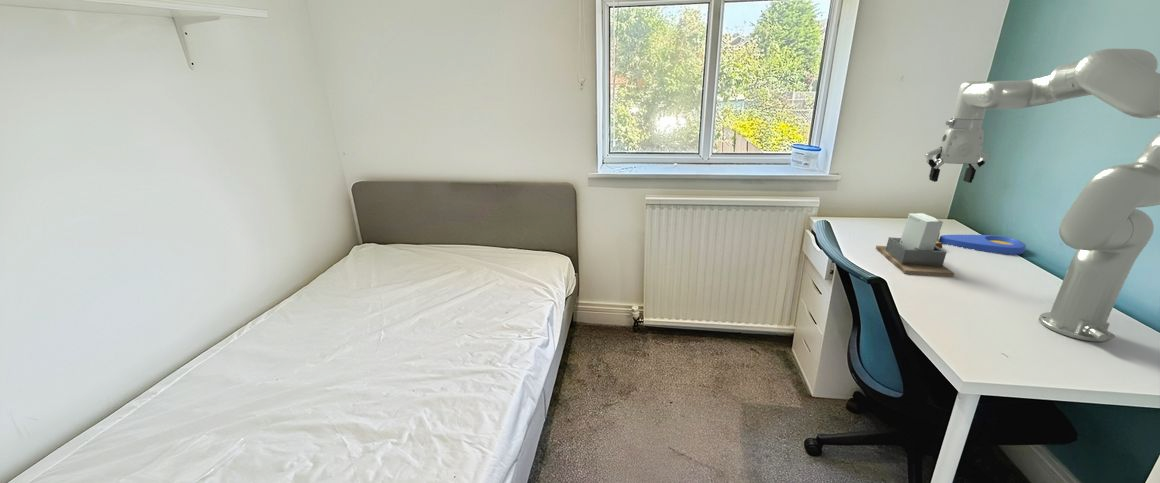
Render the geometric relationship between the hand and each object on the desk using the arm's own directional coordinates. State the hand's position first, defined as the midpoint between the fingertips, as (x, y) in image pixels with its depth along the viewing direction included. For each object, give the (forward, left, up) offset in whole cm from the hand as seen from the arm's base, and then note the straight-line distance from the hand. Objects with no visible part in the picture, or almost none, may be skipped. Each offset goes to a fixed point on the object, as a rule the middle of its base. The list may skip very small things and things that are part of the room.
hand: (950, 181), depth 145 cm
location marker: (+22, -28, -29) cm, 46 cm away
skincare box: (+1, +4, -27) cm, 27 cm away
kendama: (+24, -11, -29) cm, 39 cm away
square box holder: (+2, +4, -28) cm, 28 cm away
